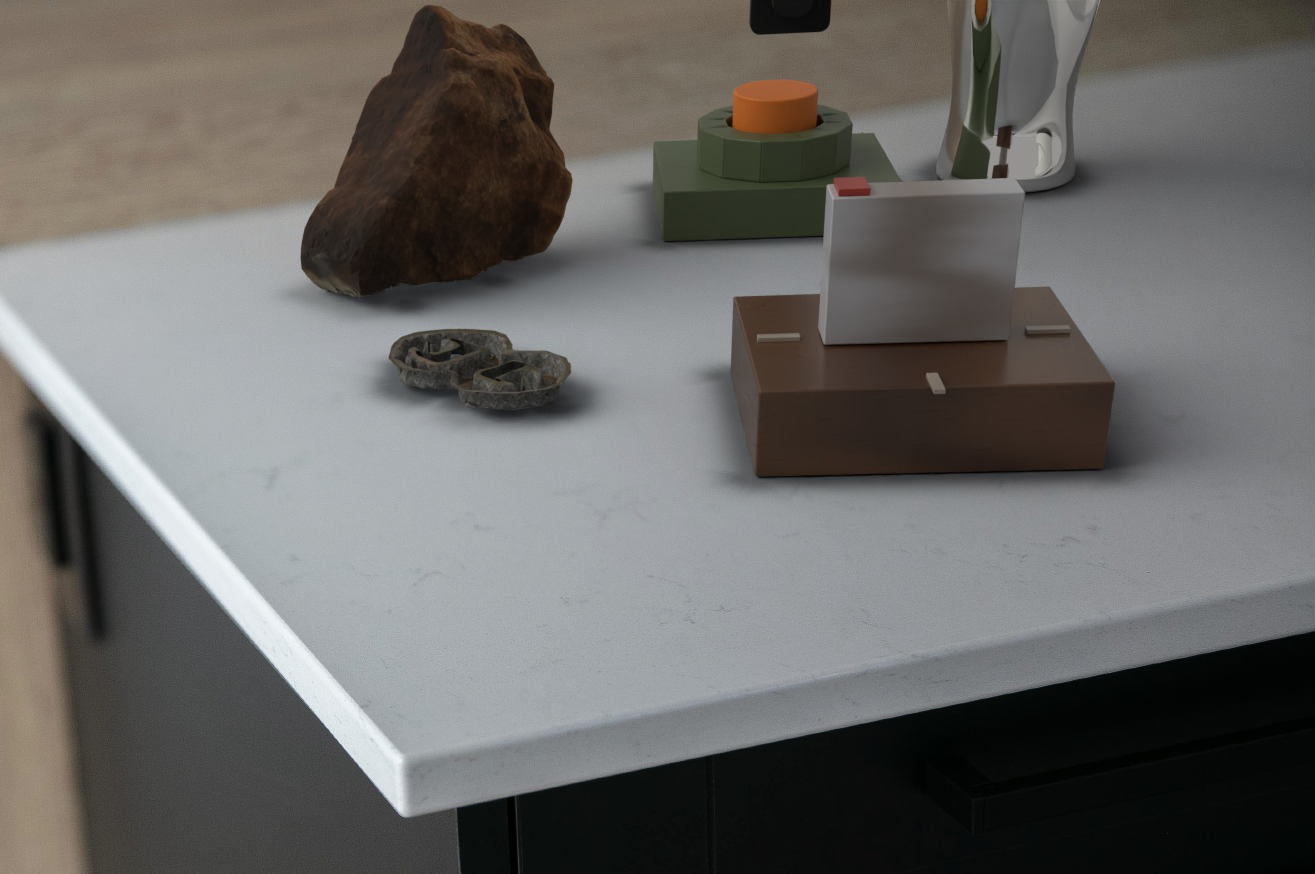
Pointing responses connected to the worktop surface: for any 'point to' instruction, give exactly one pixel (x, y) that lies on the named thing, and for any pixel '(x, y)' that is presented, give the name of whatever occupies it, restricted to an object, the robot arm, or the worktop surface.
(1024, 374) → the block
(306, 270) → the decorative rock
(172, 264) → the worktop surface
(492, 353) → the corroded twin loop
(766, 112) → the button
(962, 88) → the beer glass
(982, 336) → the tap handle
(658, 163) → the button box
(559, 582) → the worktop surface
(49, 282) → the worktop surface
